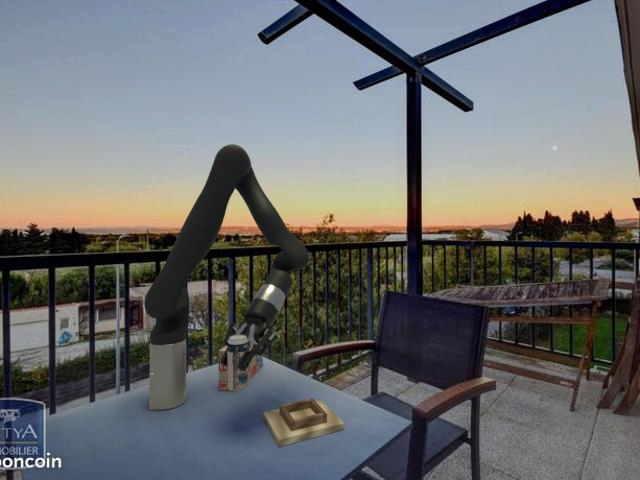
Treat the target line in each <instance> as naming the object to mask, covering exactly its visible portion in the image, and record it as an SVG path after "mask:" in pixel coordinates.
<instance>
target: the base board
mask: <svg viewBox="0 0 640 480" xmlns="http://www.w3.org/2000/svg"><path fill="white" fill-rule="evenodd" d="M278 406H279V408H277V409H272V410H268V411H263V419H264V421H265V424H266V425H267V427H268V429H269V431H270V432H271V433H270V434H271V435H272V436H273V438H274V440H275V442H276V444H277V446H278V447H283V446H287V445H292V444H295V443H298V442H302V441H305V440H311V439H313V438H317V437H321V436H325V435H328V434H332V433H337V432H340V431H344V430H345V422H344V421H343V420H341V418H340V417H339V416H338V415H337V414H336V413H335V412H334V411H333V410H332V409H331V407H329V406H328V405H327V404H326V402H324V400H322V399H319V400H315V399H314V398H313V397H310V398H306V399H305V398H304V399H301V400H296V401H292V402H291V401H290V402H287V403H282V404H279V405H278Z"/></svg>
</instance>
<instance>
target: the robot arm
mask: <svg viewBox="0 0 640 480" xmlns="http://www.w3.org/2000/svg"><path fill="white" fill-rule="evenodd" d="M235 190H236V191H237V192H238V193H239V195H240V196H241V198H242V200H243V201H244V203H245V205H246V207H247V208H248V211H249V212H250V215H251V217H252V218H253V220H254V223H255V224H256V226H257V227H258V229H259V231H260V233H261V234H262V235H263V237H264V238H265V239H264V240H265V241H266V242H267V244H268V245H270V246H273V247H275V246H277V247H279V248H280V249H281V251H279V253H277V255H276V256H275V258H274V259H273V260H272V261H273V262H272V264H271V267H270V270H269V274H268V276H267V277H266V279H265V280H264V282H263V284H262V285H261V286H260V289H259V290H258V291H257V293H255V295H254V298H253V299H252V300H251V302H250V304H249V306H248V307H247V309H246V311H245V312H244V313H245V314H244V319H243V320H242V321H240V323H237V324H236V323H235V322H230V323H229V326H228V329H227V331H226V334H225V336H224V339H223V342H222V343H223V344H224V345H225V346H227V342H228V340H229V338H230V336H233V335H245V336H246V337H247V339H248V347H247V352H245V353H244V355H243V356H242V358H241V360H240V362H239V364H238V368H239V369H240V370H241V371H245V369H246V368H247V367H248V366H249V364H250V362H251V360H252V358H253V357H254V356H256V355H259V356H261V355H264V354H265V352H266V351H267V350H268V348H269V347H270V346H271V344H272V343H273V342H274V341H275V339H276V337H277V334H276V333H275V332H274V330H272V329H271V327H272V326H273V324H274V322H275V320H276V318H277V317H278V315H279V313H280V311H281V309H282V307H283V305H284V302H285V299H286V297H287V295H288V294H289V291H290V290H291V287H292V285H293V278H292V276H291V275H292V273H294V272H296V271H298V270H301V269H304V268H306V267H307V266H308V264H309V261H310V255H309V252H308V249H307V248H306V246H305V245H304V244H303V243H302V242H301V241H300V240H299V238H298V237H297V236H295V234H293V233H292V232H291V231H290V230H289V229H288V227H287V225H286V224H285V222H284V220H283V218H282V217H281V215H280V213H279V212H278V211H277V209H276V208H275V206H274V205H273V203H272V202H271V201H270V199H269V198H268V196H267V195H266V193H265V191H264V190H263V188H262V186H261V185H260V182H259V181H258V179H257V176H256V175H255V171H254V169H253V166H252V161H251V158H250V156H249V155H248V153H247V151H246V149H244V148H243V147H242V146H240V145H239V144H238V145H237V144H233V143H232V144H231V143H230V144H227V145H225V146H223V147H221V148H220V149H218V152H216V155H215V156H214V159H213V163H212V165H211V168H210V171H209V174H208V176H207V178H206V181H205V184H204V185H203V188H202V190H201V192H200V193H199V195H198V197H197V199H196V201H195V202H194V204H193V205H192V208H191V210H190V211H189V213H188V215H187V217H186V219H185V221H184V223H183V225H182V227H181V229H180V231H179V233H178V236H177V238H176V240H175V241H174V243H173V246H172V248H171V250H170V252H169V254H168V257H167V258H166V261H165V263H164V265H163V267H162V268H161V270H160V272H159V273H158V275H157V276H156V278H155V279H154V281H153V283H152V284H151V286H150V287H149V289H148V290H147V292H146V294H145V298H144V302H143V305H144V309H145V312H146V313H147V315H148V316H149V317H150V318H152V319H156V320H155V324H154V326H153V328H152V330H151V331H150V333H149V376H148V377H149V378H148V379H149V383H148V384H149V385H148V386H149V387H148V391H149V396H148V399H149V403H148V404H149V405H148V406H149V411H151V410H157V411H158V410H159V411H163V410H164V411H165V410H169V409H174V408H176V407H178V406H179V407H180V406H181V405H182V404H184V403H185V402H186V401H187V331H188V329H189V328H188V327H189V323H190V322H189V320H190V294H189V292H188V289H187V288H186V284H187V282H188V279H189V278H190V276H191V274H192V273H193V272H194V271H195V269H197V267H198V266H199V264H200V263H201V262H203V260H204V258H205V257H206V256H207V254H208V253H209V252H210V250H211V249H212V247H213V245H214V243H215V241H216V238H217V237H218V235H219V232H220V231H221V228H222V224H223V222H224V218H225V215H226V211H227V209H228V205H229V201H230V200H231V197H232V195H233V193H234V192H235ZM261 347H262V348H261ZM260 348H261V349H260ZM221 363H222V364H223V365H224V366H227V349H226V351H225V353H224V354H223V356H222V358H221Z"/></svg>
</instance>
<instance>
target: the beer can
mask: <svg viewBox="0 0 640 480" xmlns="http://www.w3.org/2000/svg"><path fill="white" fill-rule="evenodd" d="M247 347H248V339H247V337H246V336H245V335H233V336H230V338H229V340H228V342H227V388H228V389H229V390H231V391H230V392H236V391H238V392H241V391H244V390H245V389H246V388H248V386H249V381H248V367H247V368H246V369H245V371H241V370H240V369H239V368H238V364H239V362H240V360H241V358H242V356H243V355H244V353H245V352H247Z"/></svg>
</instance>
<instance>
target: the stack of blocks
mask: <svg viewBox="0 0 640 480" xmlns="http://www.w3.org/2000/svg"><path fill="white" fill-rule="evenodd" d="M261 348H262V347H261ZM261 348H260V349H261ZM226 349H227V346H226V345H225V346H223V347H222V348H220V349H219V350H218V391H221V392H222V391H225V392H232V391H231V390H229V389H228V388H227V366H224V365H223V364H222V363H221V358H222V356H223V354H224V353H225V351H226ZM263 355H264V354H263ZM263 355H261V356H259V355H256V356H254V357H253V358H252V360H251V362H250V364H249V366H248V382H249V381H250V379H252V377H253V376H255V375H256V373H257V372H258V371H259V370H260V369H261V368H262V367H263V366H264V365H263V364H264V361H263V358H264V357H263ZM235 392H237V393H238V392H239V391H235Z"/></svg>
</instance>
